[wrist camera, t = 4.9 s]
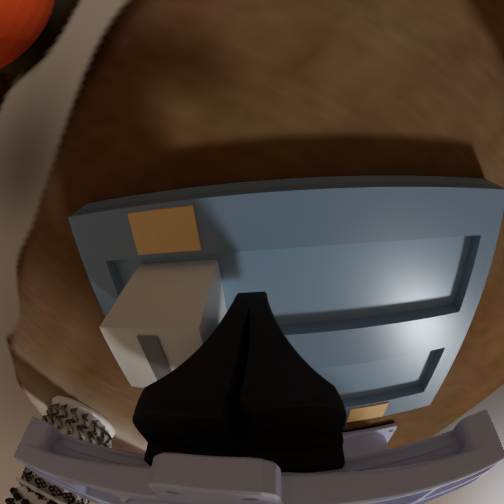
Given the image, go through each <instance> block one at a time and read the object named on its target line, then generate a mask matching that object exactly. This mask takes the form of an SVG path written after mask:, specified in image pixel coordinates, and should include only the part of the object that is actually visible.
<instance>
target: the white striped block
mask: <svg viewBox="0 0 504 504" xmlns="http://www.w3.org/2000/svg"><path fill="white" fill-rule="evenodd" d="M226 313H227V308H226V303H225V297H224V292H223V286H222V281H221V275H220V269H219V264H218V259H212V260H197V261H181V262H166V263H150V264H140V265H139V267H138V268H137V269H136V271H135V272H134V274H133V275H132V277H131V278H130V280H129V281H128V283H127V284H126V286H125V287H124V289H123V290H122V292H121V294H120V295H119V297H118V298H117V300H116V301H115V303H114V304H113V306H112V308H111V309H110V311H109V312H108V314H107V316H106V317H105V319H104V320H103V322H102V324H101V325H100V327H99V328H100V330H101V332H102V334H103V336H104V338H105V340H106V342H107V344H108V346H109V347H110V349H111V351H112V353H113V355H114V357H115V359H116V360H117V362H118V364H119V366H120V368H121V369H122V371H123V373H124V375H125V376H126V378H127V380H128V381H129V383H130V385H131V386H133V387H143V388H145V387H147V386H148V385H150V384H152V383H154V382H156V381H157V380H159V379H161V378H162V377H164V376H166V375H167V374H169V373H170V372H171V371H173V370H174V369H176V368H177V367H178V366H180V365H181V364H182V363H183V362H185V361H186V360H187V359H188V358H189V357H190V356H191V355H192V354H193V353H194V352H196V351H197V350H198V349H199V348H200V346H201V345H202V344H203V343H204V342H205V341H206V340H207V339H208V337H209V336H210V335H211V334H212V332H213V331H214V330H215V328H216V327H217V326H218V325H219V323H220V322H221V320H222V319H223V317H224V316H225V314H226Z"/></svg>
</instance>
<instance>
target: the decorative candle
mask: <svg viewBox="0 0 504 504" xmlns="http://www.w3.org/2000/svg"><path fill="white" fill-rule="evenodd" d="M46 412H47V415H44V416H43V417H42V420H43V421H46V422H48V423H50V424H52V425H53V426H55V427H56V428H57V429H58V430H59V431H60V433H61V434H64V435H67V436H70V437H73V438H76V439H79V440H83V441H86V442H90V443H93V444H97V445H100V446H104V447H108V448H110V447H111V446H112V444H113V442H112V438H113V436H114V435H115V433H116V431H115V428H114V426H113V425H112V424H111V423H110V422H109V421H108V420H107V419H106V418H105V417H104V416H102V415H101V414H99V413H98V412H96V411H95V410H94V409H92V408H90V407H88V406H86V405H85V404H83V403H81V402H79V401H76V400H74V399H71V398H69V397H65V396H55V397H53V399H52V405H50V406H48V410H47V411H46ZM16 481H17V482H19V483H20V485H19V488H11V489H10V492H11V494H12V495H13V497H14V498H15V499H14V498H8V499H6V500H5V502H6V503H7V504H89V501H90V500H87V499H85V498H82V497H80V496H78V495H76V494H73V493H71V492H69V491H67V490H64V489H62V488H60V487H58V486H56V485H54V484H52V483H49V482H47V481H46V480H44V479H43V478H41V477H40V476H38V475H37V474H35V473H34V472H33V471H31V470H30V469H29V468H27V467H26V466H25V469H24V471H23V474H22V476H21V478H18V477H16Z"/></svg>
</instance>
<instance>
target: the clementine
mask: <svg viewBox="0 0 504 504" xmlns="http://www.w3.org/2000/svg"><path fill="white" fill-rule="evenodd" d="M54 5H55V0H0V69H1V68H3V67H4V66H6V65H8V64H10V63H11V62H13V61H14V60H16V59H18V58H19V57H20V56H21V55H22V54H23V53H24V52H25V51H26V50H27V49H28V48H29V47H30V46H31V45H32V44H33V43H34V42H35V41H36V39H37V38H38V37H39V36H40V34H41V33H42V31H43V30H44V28H45V26H46V25H47V23H48V21H49V19H50V16H51V14H52V12H53V8H54Z"/></svg>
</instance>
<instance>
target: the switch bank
mask: <svg viewBox="0 0 504 504" xmlns="http://www.w3.org/2000/svg"><path fill="white" fill-rule="evenodd" d="M503 211H504V188H502V187H501V186H499V185H497V184H495V183H493V182H491V181H489V180H487V179H481V178H465V177H444V176H405V175H371V176H330V177H308V178H290V179H275V180H261V181H249V182H238V183H227V184H218V185H208V186H199V187H191V188H183V189H175V190H167V191H160V192H153V193H146V194H140V195H133V196H127V197H121V198H115V199H109V200H103V201H98V202H92V203H88V204H86V205H85V206H83V207H82V208H80V209H79V210H77V211H76V212H75V213H73V214H72V215H70V216H69V217H68V219H69V222H70V226H71V229H72V232H73V235H74V238H75V241H76V244H77V247H78V250H79V253H80V256H81V259H82V262H83V264H84V267H85V270H86V272H87V275H88V278H89V280H90V283H91V285H92V288H93V290H94V293H95V295H96V297H97V300H98V302H99V304H100V307H101V309H102V311H103V314H104V316H105V317H106V316H107V314H108V312H109V311H110V309H111V308H112V306H113V304H114V303H115V301H116V300H117V298H118V297H119V295H120V294H121V292H122V290H123V289H124V287H125V286H126V284H127V283H128V281H129V280H130V278H131V277H132V275H133V274H134V272H135V271H136V269H137V268H138V267H139V265H140V264H150V263H166V262H181V261H197V260H212V259H218V264H219V269H220V275H221V281H222V286H223V292H224V297H225V303H226V308H227V311H228V309H229V308H230V306H231V304H232V302H233V300H234V298H235V296H236V295H237V294H238V293H246V292H263V291H265V292H266V293H267V298H268V302H269V305H270V308H271V310H272V313H273V315H274V317H275V319H276V321H277V323H278V325H279V327H280V328H281V330H282V332H283V333H284V335H285V336H286V338H287V339H288V341H289V342H290V344H291V345H292V346H293V348H294V349H295V350H296V351H297V352H298V354H299V355H300V356H301V357H302V358H303V359H304V360H305V361H306V362H307V363H308V364H309V365H310V366H311V367H312V368H313V369H314V370H315V371H316V372H317V373H318V374H319V375H321V376H322V377H323V378H324V379H326V380H327V381H328V382H330V383H331V384H332V385H334V386H335V388H336V389H337V391H338V393H339V395H340V397H341V399H342V401H343V404H344V407H345V409H346V413H347V420H346V423H347V422H354V421H360V420H365V419H371V418H376V417H381V416H386V415H391V414H395V413H400V412H404V411H408V410H412V409H416V408H420V407H424V406H427V405H430V403H431V402H432V400H433V398H434V397H435V395H436V393H437V391H438V390H439V388H440V386H441V384H442V382H443V381H444V379H445V377H446V375H447V373H448V371H449V369H450V367H451V365H452V363H453V361H454V359H455V357H456V355H457V353H458V351H459V349H460V347H461V345H462V342H463V340H464V338H465V336H466V333H467V331H468V328H469V326H470V324H471V321H472V319H473V316H474V314H475V311H476V308H477V306H478V303H479V300H480V297H481V295H482V292H483V289H484V286H485V283H486V279H487V276H488V273H489V270H490V266H491V263H492V259H493V255H494V252H495V248H496V244H497V239H498V235H499V231H500V226H501V221H502V216H503ZM141 388H142V389H143V390H144V388H143V387H141Z"/></svg>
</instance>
